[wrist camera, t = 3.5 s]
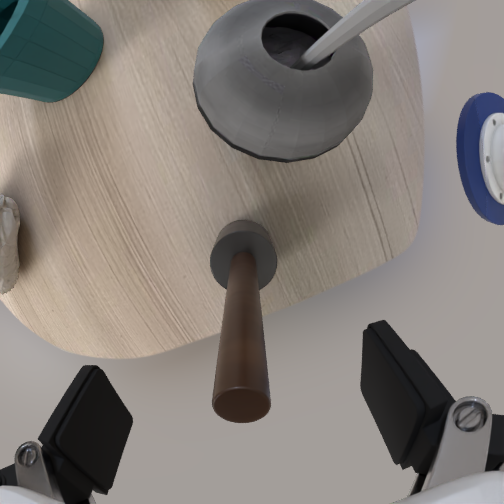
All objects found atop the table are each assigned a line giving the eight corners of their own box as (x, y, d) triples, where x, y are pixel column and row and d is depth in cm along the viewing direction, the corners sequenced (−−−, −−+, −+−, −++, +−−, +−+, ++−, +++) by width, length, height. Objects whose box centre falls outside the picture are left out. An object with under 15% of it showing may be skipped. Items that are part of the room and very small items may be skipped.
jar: (103, 7, 16) (44, -46, 4) (106, 77, 19) (23, 37, 7) (34, 47, 16) (-34, 23, 5) (33, 117, 19) (-52, 111, 8)
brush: (266, 214, 23) (315, 331, 7) (276, 268, 24) (321, 434, 8) (209, 226, 23) (138, 357, 7) (222, 278, 24) (192, 449, 8)
